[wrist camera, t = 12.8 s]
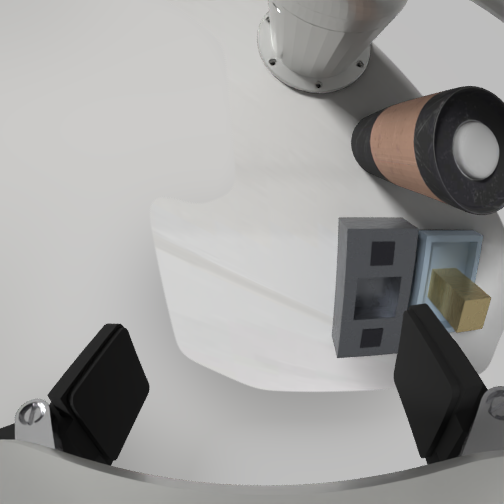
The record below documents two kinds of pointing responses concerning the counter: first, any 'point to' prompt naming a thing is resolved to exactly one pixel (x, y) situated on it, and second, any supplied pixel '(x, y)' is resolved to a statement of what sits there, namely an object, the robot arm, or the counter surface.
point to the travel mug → (439, 147)
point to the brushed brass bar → (458, 299)
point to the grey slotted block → (372, 284)
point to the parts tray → (443, 261)
